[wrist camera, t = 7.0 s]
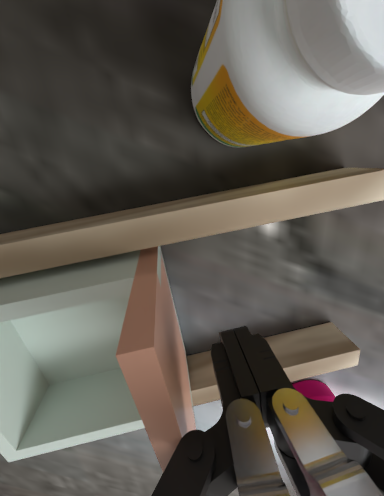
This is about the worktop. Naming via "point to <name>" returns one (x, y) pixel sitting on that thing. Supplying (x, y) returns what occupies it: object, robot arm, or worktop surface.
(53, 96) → the worktop surface
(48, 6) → the worktop surface
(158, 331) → the drawer
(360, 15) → the supplement bottle
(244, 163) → the worktop surface
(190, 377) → the bay
